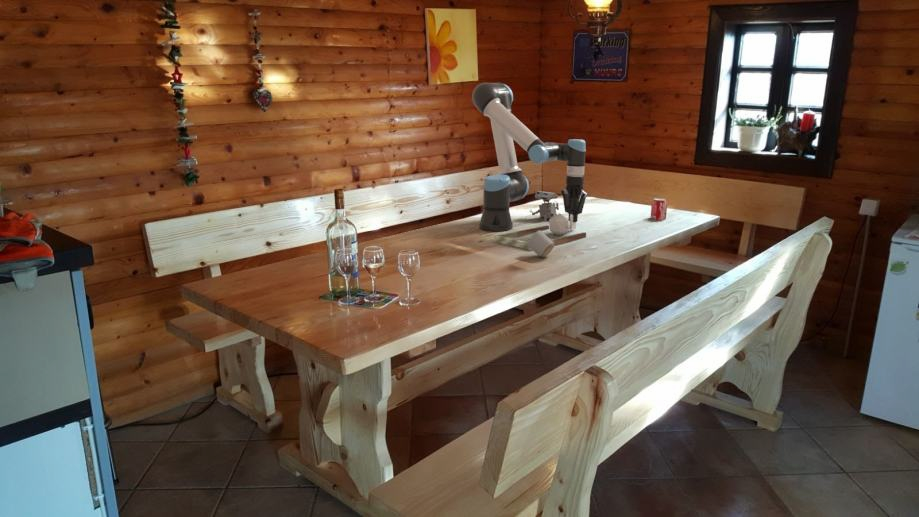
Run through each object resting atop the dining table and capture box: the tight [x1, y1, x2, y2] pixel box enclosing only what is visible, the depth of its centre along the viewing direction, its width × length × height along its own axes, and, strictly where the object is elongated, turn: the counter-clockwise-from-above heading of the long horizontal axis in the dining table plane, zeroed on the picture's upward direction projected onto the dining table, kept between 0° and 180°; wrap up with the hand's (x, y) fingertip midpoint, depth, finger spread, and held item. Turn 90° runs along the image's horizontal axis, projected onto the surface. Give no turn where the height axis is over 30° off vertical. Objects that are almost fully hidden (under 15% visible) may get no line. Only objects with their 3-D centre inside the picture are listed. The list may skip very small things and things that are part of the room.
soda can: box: [650, 197, 668, 221], centre depth 317 cm, size 7×7×12 cm
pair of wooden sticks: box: [493, 224, 587, 251], centre depth 282 cm, size 21×34×2 cm, turn 133°
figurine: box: [530, 190, 560, 222], centre depth 318 cm, size 9×12×15 cm
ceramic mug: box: [526, 230, 555, 258], centre depth 254 cm, size 11×8×8 cm
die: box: [548, 212, 570, 236], centre depth 290 cm, size 8×9×10 cm
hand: (572, 229), depth 297 cm, fingers closed
